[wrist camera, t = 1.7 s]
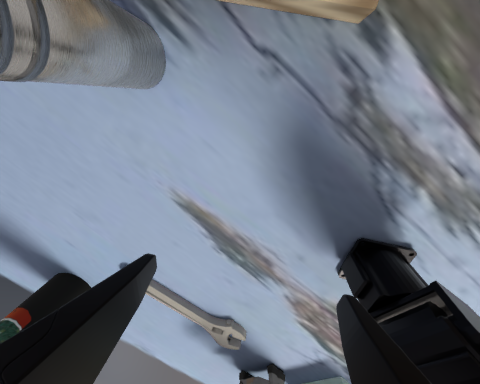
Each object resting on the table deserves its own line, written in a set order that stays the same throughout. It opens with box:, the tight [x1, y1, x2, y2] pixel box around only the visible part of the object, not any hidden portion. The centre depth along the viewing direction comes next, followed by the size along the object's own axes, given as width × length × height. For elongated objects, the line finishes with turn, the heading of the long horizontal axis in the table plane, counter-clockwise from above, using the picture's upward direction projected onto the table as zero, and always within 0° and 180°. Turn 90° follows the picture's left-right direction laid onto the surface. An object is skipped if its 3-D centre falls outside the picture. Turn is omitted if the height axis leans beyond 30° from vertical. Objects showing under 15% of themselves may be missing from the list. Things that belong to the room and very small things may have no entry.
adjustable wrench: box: [145, 280, 246, 350], centre depth 32 cm, size 25×6×2 cm, turn 47°
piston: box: [0, 0, 166, 89], centre depth 11 cm, size 5×5×13 cm
